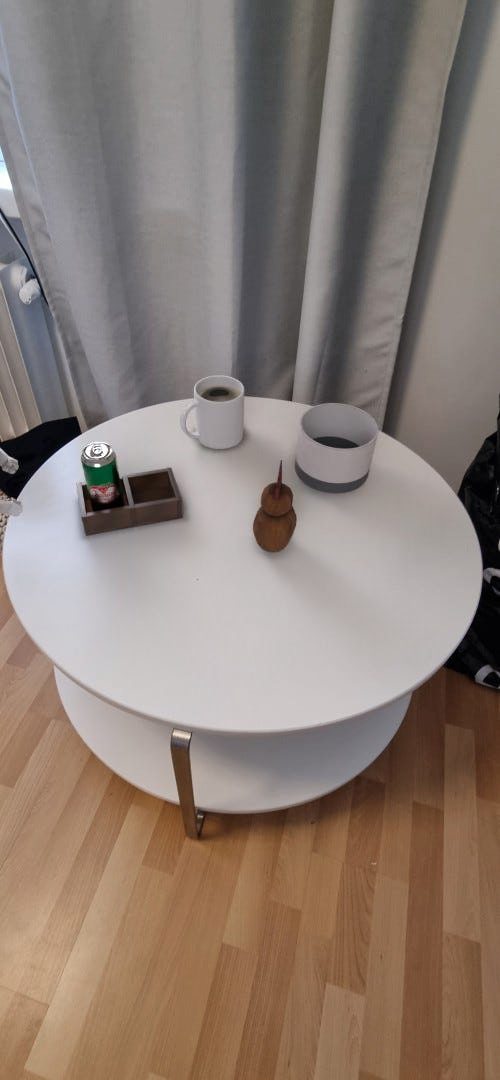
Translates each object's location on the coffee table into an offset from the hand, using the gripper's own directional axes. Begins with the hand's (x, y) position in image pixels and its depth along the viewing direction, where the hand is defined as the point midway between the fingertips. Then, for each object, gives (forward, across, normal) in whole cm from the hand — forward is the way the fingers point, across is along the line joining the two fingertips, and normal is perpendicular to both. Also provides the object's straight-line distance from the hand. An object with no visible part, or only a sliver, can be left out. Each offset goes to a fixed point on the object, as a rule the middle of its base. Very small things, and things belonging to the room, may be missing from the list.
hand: (18, 488), depth 85 cm
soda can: (+14, 0, -3) cm, 15 cm away
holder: (+17, 0, -5) cm, 18 cm away
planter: (+42, -1, -29) cm, 51 cm away
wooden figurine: (+31, -13, -18) cm, 39 cm away
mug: (+30, +16, -18) cm, 38 cm away
